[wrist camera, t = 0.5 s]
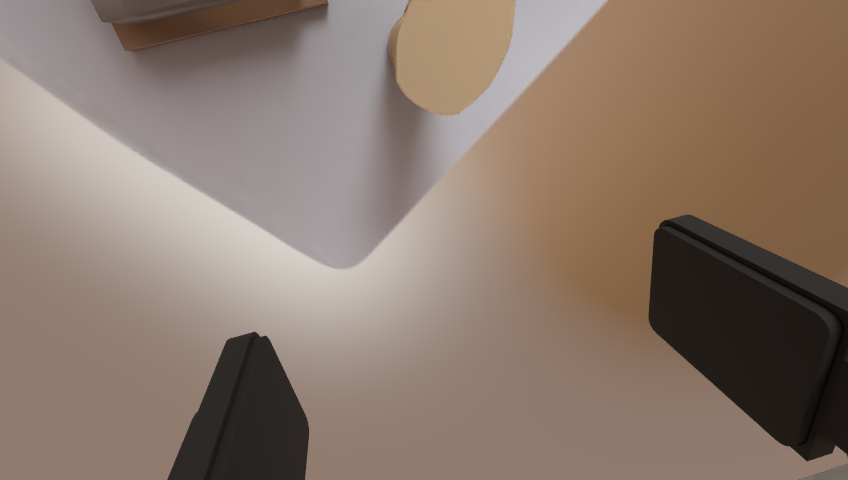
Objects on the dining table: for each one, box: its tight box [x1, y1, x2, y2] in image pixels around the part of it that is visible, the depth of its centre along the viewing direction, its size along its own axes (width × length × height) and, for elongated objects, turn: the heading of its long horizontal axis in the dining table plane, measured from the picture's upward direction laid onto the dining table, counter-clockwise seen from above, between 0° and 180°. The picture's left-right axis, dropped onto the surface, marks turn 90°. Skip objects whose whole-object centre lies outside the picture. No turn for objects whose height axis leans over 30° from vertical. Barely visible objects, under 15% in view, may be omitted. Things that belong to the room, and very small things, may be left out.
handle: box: [388, 0, 515, 115], centre depth 25 cm, size 5×6×15 cm
